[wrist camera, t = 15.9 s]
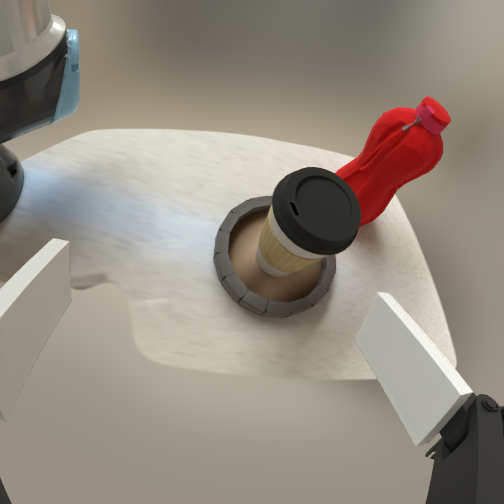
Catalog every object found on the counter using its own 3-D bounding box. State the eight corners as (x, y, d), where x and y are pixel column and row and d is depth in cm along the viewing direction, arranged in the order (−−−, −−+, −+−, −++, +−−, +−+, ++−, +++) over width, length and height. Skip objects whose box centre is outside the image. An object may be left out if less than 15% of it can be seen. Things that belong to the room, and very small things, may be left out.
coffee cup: (319, 278, 43) (381, 234, 30) (258, 300, 40) (304, 260, 26) (292, 218, 46) (339, 157, 33) (232, 233, 42) (262, 168, 29)
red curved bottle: (306, 188, 50) (388, 75, 28) (353, 179, 54) (434, 85, 32) (331, 237, 48) (437, 137, 25) (377, 222, 52) (475, 138, 29)
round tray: (191, 277, 40) (192, 271, 37) (247, 186, 47) (251, 177, 45) (303, 338, 40) (311, 335, 38) (340, 240, 48) (348, 233, 46)
